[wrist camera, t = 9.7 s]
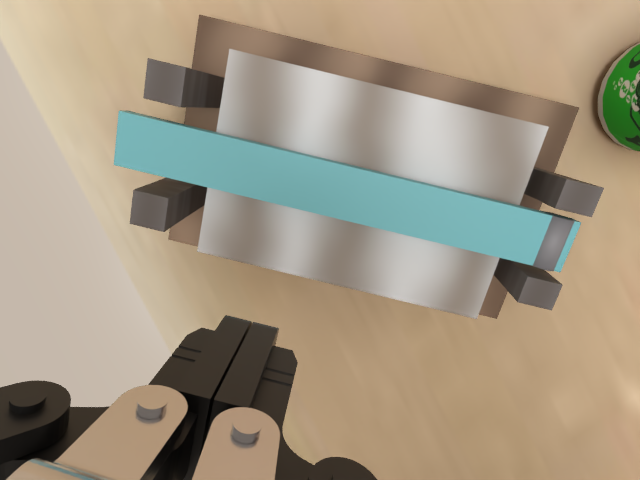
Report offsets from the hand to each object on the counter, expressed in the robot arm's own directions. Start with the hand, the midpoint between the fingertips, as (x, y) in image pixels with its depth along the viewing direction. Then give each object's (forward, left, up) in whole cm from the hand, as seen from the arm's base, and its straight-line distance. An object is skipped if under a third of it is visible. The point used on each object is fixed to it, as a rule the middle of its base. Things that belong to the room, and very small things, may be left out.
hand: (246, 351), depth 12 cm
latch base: (-3, -2, -23) cm, 23 cm away
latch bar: (-2, -2, -15) cm, 15 cm away
